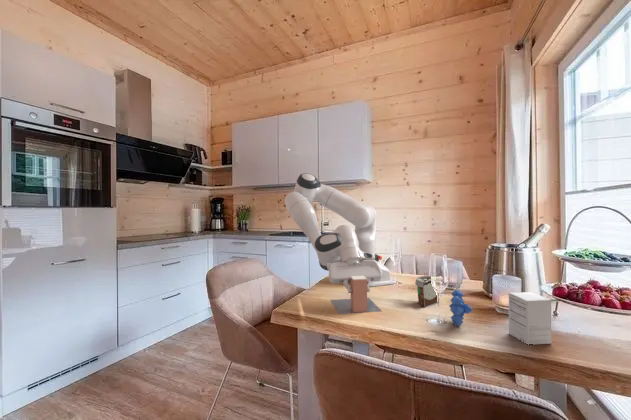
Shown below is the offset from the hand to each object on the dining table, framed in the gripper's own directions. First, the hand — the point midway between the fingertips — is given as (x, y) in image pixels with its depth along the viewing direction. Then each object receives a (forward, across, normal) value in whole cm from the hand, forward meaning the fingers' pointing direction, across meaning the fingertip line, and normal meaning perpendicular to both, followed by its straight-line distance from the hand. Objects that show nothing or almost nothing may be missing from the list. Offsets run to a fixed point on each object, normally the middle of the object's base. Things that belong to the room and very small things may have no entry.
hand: (359, 291), depth 103 cm
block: (+4, 0, +5) cm, 7 cm away
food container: (+1, +29, +10) cm, 31 cm away
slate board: (+2, 0, +10) cm, 10 cm away
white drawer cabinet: (+25, +43, -13) cm, 51 cm away
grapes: (+17, +29, -6) cm, 34 cm away
